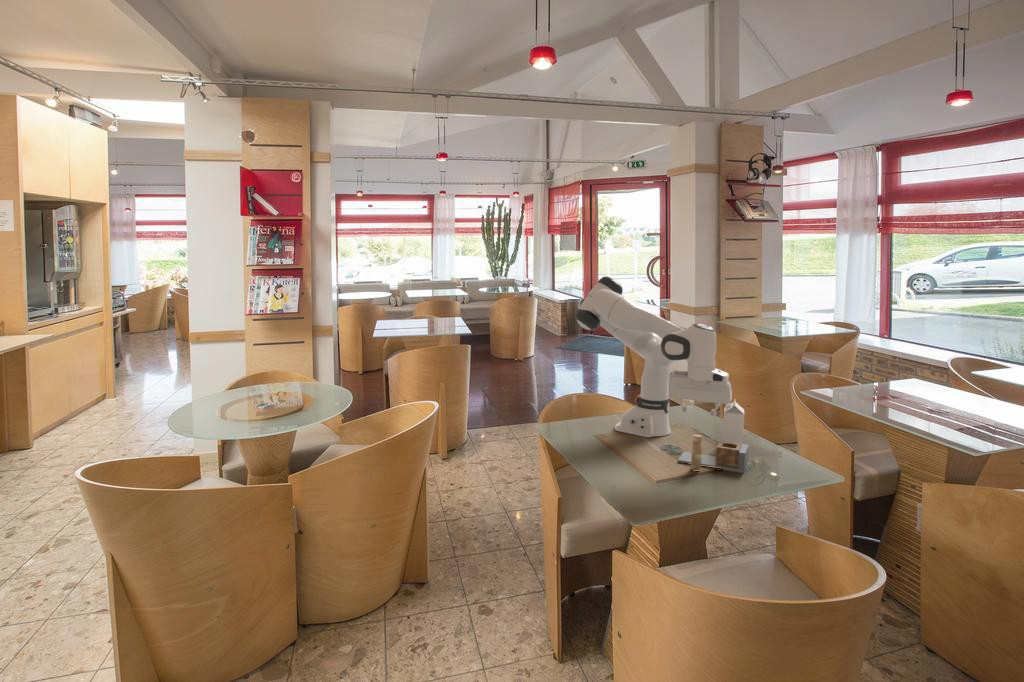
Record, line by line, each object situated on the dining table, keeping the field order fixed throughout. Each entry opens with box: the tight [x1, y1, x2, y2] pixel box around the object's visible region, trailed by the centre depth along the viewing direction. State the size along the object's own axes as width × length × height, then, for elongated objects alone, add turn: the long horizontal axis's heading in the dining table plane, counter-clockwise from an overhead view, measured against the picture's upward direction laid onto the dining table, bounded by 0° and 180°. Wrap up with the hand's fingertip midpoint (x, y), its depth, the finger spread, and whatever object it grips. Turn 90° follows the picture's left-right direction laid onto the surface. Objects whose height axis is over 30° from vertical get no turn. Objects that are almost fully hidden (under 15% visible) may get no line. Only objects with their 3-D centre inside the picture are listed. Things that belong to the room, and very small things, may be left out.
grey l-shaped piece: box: [677, 443, 749, 474], centre depth 217 cm, size 22×10×7 cm, turn 63°
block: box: [715, 440, 742, 467], centre depth 215 cm, size 7×7×6 cm
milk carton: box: [721, 398, 745, 444], centre depth 231 cm, size 7×7×19 cm
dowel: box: [690, 434, 703, 470], centre depth 210 cm, size 3×3×12 cm
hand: (698, 413), depth 208 cm, fingers open, 8 cm apart
